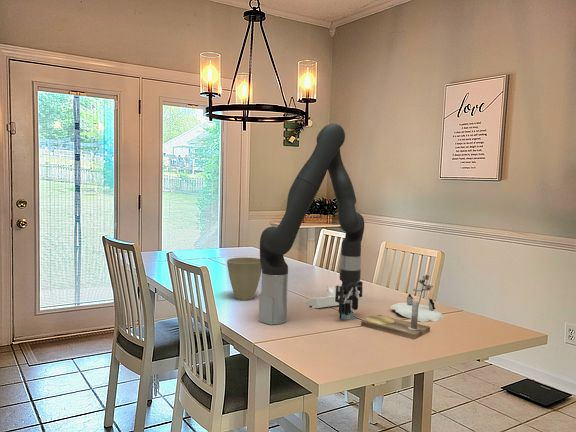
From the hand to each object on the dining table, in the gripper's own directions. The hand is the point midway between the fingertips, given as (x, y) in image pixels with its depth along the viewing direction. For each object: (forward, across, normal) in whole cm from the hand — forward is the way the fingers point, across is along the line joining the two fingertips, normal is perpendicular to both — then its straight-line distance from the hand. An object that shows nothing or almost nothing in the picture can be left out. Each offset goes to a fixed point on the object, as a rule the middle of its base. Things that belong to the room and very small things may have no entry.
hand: (348, 311), depth 183 cm
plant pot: (+3, -7, +47) cm, 48 cm away
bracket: (+3, +9, +17) cm, 20 cm away
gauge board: (+3, +2, -18) cm, 18 cm away
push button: (+3, 0, 0) cm, 3 cm away
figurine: (+3, +24, -15) cm, 29 cm away
